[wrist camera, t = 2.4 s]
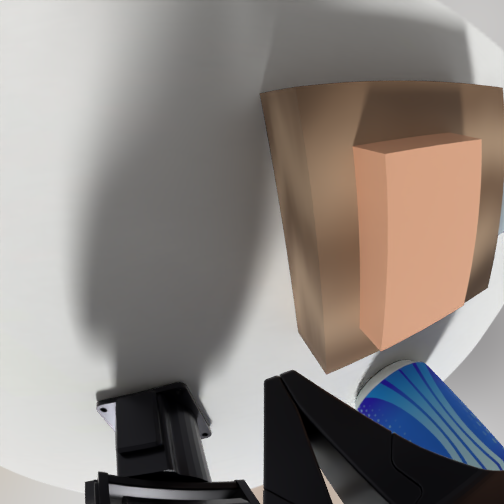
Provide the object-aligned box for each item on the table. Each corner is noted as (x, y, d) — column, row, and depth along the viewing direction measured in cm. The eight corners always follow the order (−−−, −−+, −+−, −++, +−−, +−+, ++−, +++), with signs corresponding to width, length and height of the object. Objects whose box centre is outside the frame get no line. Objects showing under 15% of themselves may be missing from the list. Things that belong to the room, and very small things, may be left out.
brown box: (452, 264, 22) (487, 287, 19) (298, 332, 20) (326, 374, 16) (455, 83, 16) (502, 87, 12) (259, 93, 13) (294, 87, 10)
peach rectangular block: (441, 288, 16) (463, 305, 15) (359, 328, 15) (380, 351, 14) (450, 132, 12) (481, 139, 11) (352, 146, 11) (385, 154, 10)
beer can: (348, 379, 24) (457, 532, 10) (426, 338, 25) (540, 454, 11) (346, 428, 27) (424, 549, 13) (413, 392, 29) (497, 492, 15)
